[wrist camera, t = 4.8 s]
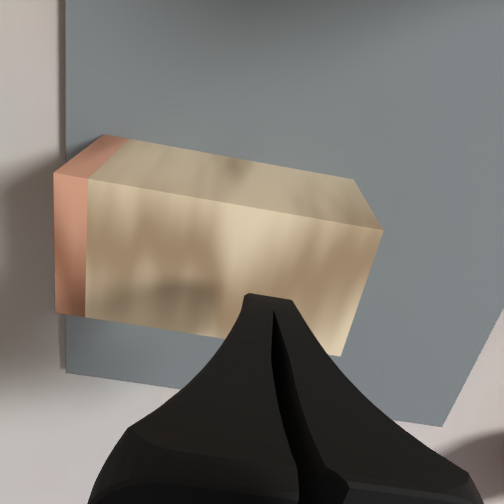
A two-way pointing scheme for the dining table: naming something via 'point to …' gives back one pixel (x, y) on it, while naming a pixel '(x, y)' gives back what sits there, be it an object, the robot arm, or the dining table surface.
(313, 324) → the beech block
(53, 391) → the dining table surface
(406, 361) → the slate mat
